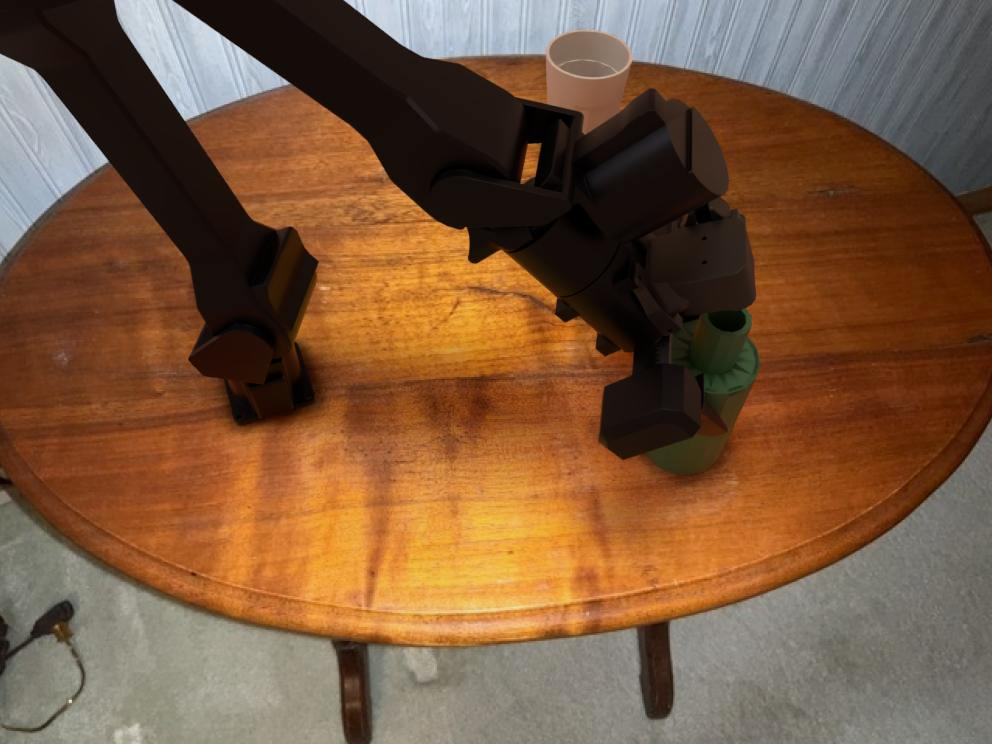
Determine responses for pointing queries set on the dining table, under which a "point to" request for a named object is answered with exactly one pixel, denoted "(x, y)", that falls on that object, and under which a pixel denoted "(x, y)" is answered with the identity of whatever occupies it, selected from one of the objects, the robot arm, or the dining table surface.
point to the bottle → (712, 382)
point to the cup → (587, 74)
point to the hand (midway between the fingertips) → (721, 386)
